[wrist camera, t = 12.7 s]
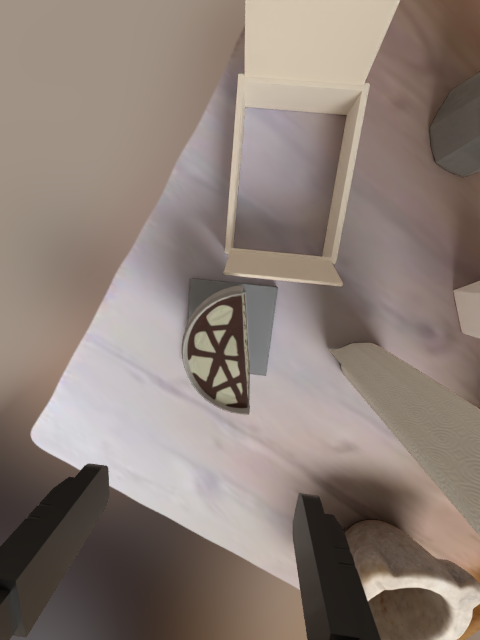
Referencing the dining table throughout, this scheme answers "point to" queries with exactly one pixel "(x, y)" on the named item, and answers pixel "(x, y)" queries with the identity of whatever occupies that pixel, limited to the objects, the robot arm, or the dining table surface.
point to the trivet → (258, 315)
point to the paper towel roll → (422, 421)
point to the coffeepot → (458, 130)
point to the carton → (306, 105)
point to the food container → (220, 350)
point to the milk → (469, 308)
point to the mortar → (410, 585)
